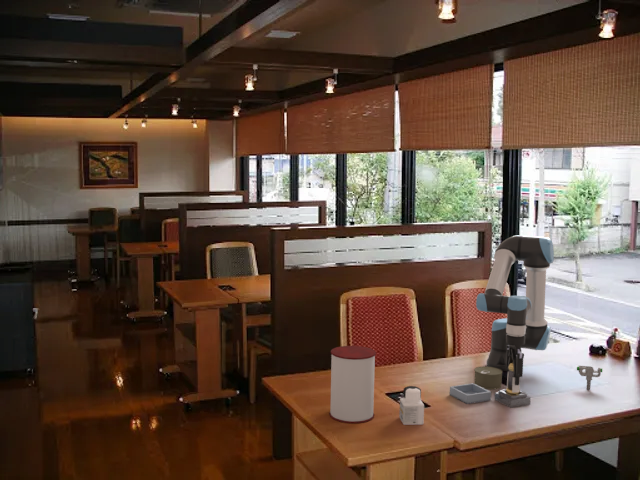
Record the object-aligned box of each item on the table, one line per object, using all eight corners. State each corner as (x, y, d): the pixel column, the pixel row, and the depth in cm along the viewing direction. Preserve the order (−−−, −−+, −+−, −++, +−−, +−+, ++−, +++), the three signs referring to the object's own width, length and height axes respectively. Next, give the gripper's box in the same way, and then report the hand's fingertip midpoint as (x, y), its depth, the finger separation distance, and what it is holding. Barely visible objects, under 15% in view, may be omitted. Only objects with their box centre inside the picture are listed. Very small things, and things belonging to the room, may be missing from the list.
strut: (508, 396, 278) (510, 364, 276) (504, 391, 283) (505, 360, 281) (521, 395, 278) (522, 364, 277) (516, 391, 283) (518, 360, 282)
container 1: (381, 421, 257) (382, 356, 254) (337, 425, 252) (338, 359, 250) (365, 405, 274) (366, 344, 271) (323, 409, 269) (324, 347, 266)
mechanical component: (601, 391, 296) (602, 369, 295) (576, 389, 298) (577, 367, 297) (600, 389, 299) (601, 367, 298) (575, 387, 301) (576, 365, 300)
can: (506, 385, 302) (507, 370, 301) (493, 391, 293) (494, 376, 292) (482, 379, 310) (483, 364, 309) (468, 385, 301) (469, 370, 301)
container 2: (399, 417, 261) (400, 384, 260) (419, 417, 262) (420, 384, 261) (403, 425, 254) (404, 391, 252) (423, 424, 254) (424, 390, 253)
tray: (449, 394, 288) (449, 386, 288) (472, 391, 293) (473, 383, 293) (467, 404, 277) (467, 395, 277) (490, 400, 282) (491, 391, 282)
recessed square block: (494, 399, 283) (495, 389, 283) (513, 396, 287) (514, 386, 287) (510, 407, 274) (511, 397, 274) (530, 404, 278) (530, 394, 278)
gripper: (533, 340, 269) (530, 397, 271) (516, 328, 287) (513, 382, 290) (515, 340, 268) (512, 397, 271) (499, 328, 286) (496, 382, 289)
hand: (512, 389), depth 280 cm, fingers closed on strut, 5 cm apart
